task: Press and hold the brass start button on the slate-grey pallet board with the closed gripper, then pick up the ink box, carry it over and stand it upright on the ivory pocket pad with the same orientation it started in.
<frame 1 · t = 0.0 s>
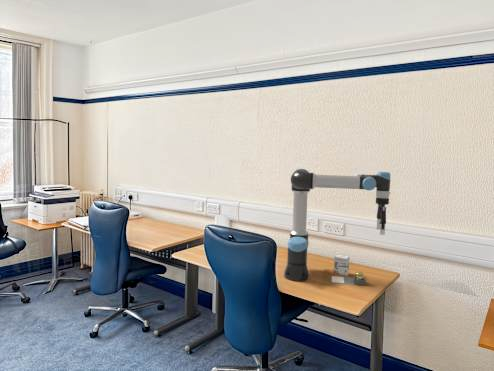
hand: (380, 231, 231), 28 cm above the table, fingers open, 13 cm apart
ink box: (341, 275, 236), on the table
button housing: (359, 283, 219), resting on pallet board
start button: (359, 277, 219), point 4 cm above the table, slide at 1.2 cm
pallet board: (347, 282, 223), on the table
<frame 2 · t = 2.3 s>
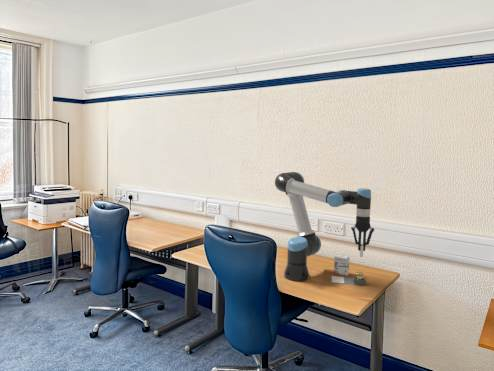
hand: (361, 256, 217), 17 cm above the table, fingers closed
nothing on the table moved.
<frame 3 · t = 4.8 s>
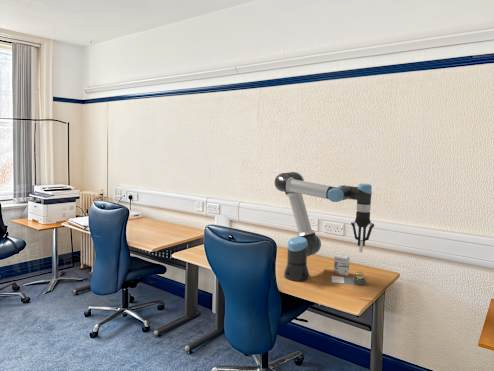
hand: (360, 251, 217), 20 cm above the table, fingers closed
nothing on the table moved.
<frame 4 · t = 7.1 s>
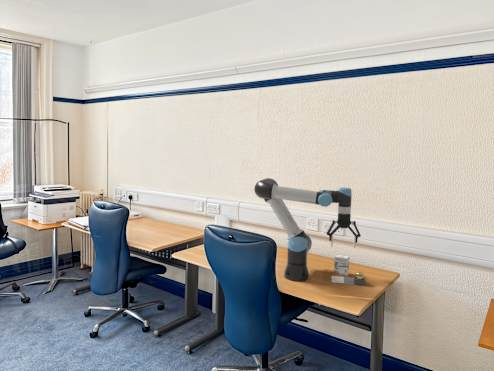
hand: (343, 247, 233), 18 cm above the table, fingers open, 13 cm apart
nothing on the table moved.
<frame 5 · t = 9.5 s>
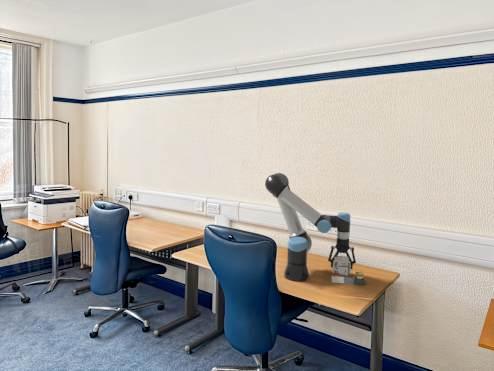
hand: (341, 273, 235), 1 cm above the table, fingers closed on ink box, 9 cm apart
ink box: (341, 275, 236), on the table, touching gripper
everything else where it was.
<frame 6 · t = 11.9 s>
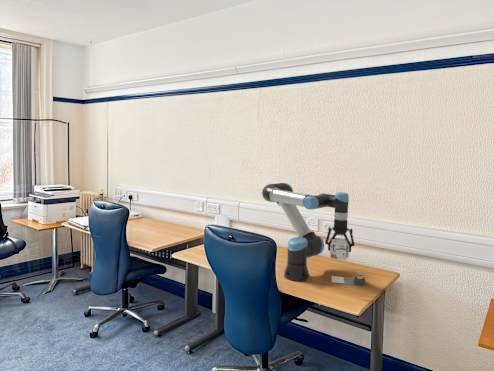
hand: (339, 256, 223), 15 cm above the table, fingers closed on ink box, 9 cm apart
ink box: (338, 258, 223), point 14 cm above the table, touching gripper
everything else where it was.
when the fingers open (4 cm above the table, at t = 14.8 s): ink box drops 1 cm, resting on pallet board.
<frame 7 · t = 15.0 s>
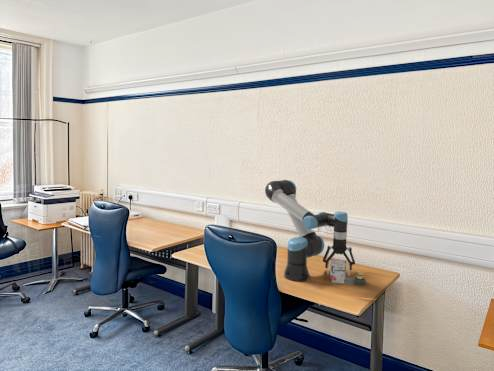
hand: (338, 274, 224), 4 cm above the table, fingers open, 11 cm apart
ink box: (337, 279, 224), point 1 cm above the table, touching pallet board
everything else where it was.
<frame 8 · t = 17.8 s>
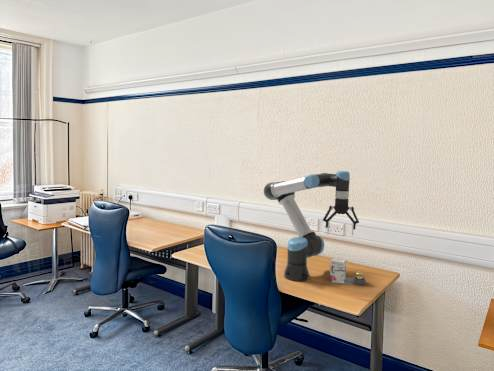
hand: (340, 234, 221), 29 cm above the table, fingers open, 13 cm apart
nothing on the table moved.
at the end: ink box 0.2 cm from the target spot, point 1.0 cm above the table; ink box tilted 0°; the gripper is holding nothing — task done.
